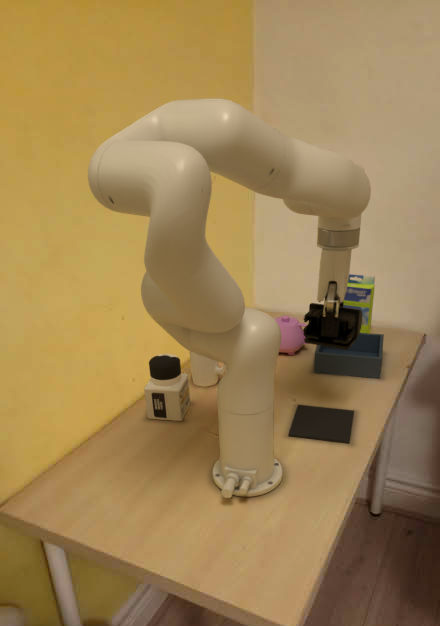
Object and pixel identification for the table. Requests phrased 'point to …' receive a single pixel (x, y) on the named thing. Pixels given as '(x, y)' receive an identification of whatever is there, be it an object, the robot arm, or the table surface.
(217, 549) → the table surface
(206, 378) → the mug
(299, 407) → the mat
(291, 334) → the teapot
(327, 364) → the bin
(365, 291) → the box
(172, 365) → the container
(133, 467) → the table surface
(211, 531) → the table surface
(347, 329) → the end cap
